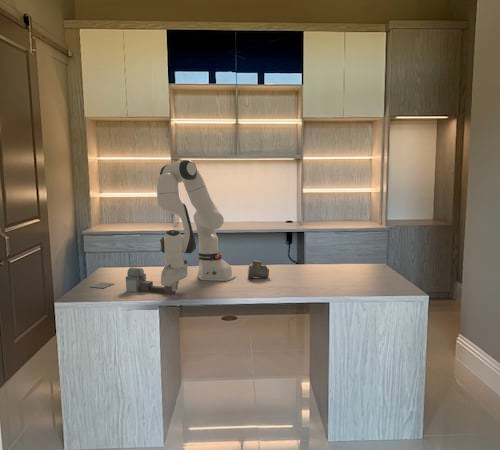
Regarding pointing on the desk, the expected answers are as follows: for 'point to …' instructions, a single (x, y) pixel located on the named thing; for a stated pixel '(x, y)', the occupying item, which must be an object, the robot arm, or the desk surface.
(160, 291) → the grey long block-ended bar
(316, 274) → the desk surface
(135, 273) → the housing
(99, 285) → the pad
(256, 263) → the pipe fitting
